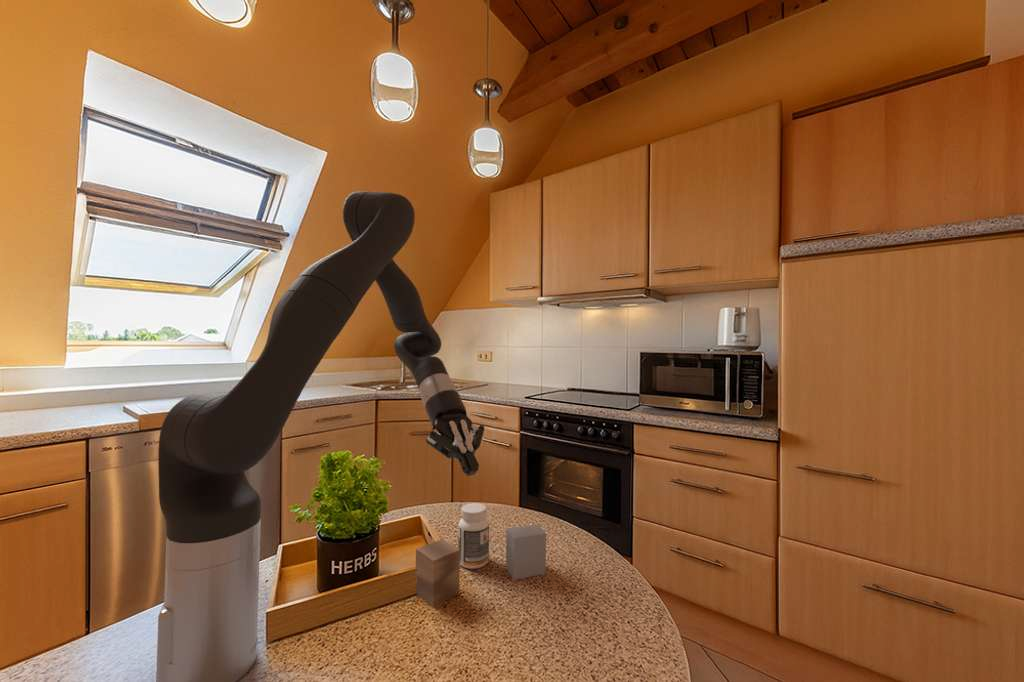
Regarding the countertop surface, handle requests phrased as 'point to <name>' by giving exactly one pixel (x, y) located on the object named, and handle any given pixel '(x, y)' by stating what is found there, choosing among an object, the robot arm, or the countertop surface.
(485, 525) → the pill bottle
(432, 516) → the countertop surface
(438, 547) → the walnut block
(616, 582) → the countertop surface
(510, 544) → the slate block
